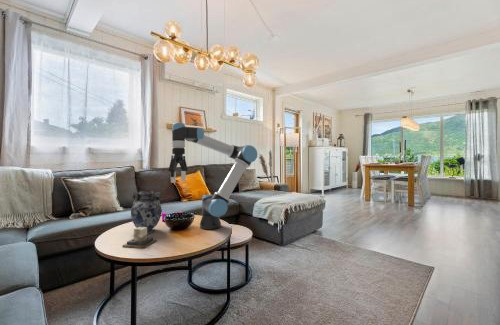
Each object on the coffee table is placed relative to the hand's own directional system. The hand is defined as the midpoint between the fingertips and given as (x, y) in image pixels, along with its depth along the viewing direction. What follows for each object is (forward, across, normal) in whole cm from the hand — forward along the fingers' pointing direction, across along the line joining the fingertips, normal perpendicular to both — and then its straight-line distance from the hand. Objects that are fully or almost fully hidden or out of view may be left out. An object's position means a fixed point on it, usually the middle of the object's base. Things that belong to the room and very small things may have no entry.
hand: (178, 181), depth 150 cm
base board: (+35, +15, -16) cm, 41 cm away
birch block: (+34, +15, -16) cm, 40 cm away
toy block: (+35, -36, -24) cm, 56 cm away
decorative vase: (+35, -6, -26) cm, 44 cm away
